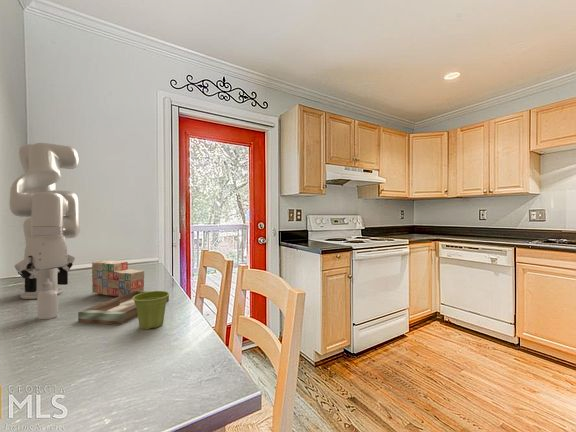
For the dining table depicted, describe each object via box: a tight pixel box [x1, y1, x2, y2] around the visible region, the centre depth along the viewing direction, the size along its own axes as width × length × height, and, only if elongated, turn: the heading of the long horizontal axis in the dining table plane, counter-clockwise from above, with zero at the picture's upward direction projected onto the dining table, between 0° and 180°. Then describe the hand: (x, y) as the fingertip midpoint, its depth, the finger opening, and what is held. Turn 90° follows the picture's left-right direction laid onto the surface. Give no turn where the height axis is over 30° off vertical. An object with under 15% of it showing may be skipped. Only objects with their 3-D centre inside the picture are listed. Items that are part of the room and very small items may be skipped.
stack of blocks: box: [91, 259, 145, 297], centre depth 110 cm, size 21×6×12 cm, turn 68°
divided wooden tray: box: [77, 290, 170, 326], centre depth 93 cm, size 14×24×3 cm, turn 171°
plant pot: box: [133, 290, 170, 330], centre depth 80 cm, size 9×9×9 cm
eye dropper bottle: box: [37, 278, 58, 320], centre depth 86 cm, size 4×6×12 cm
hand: (47, 288), depth 86 cm, fingers open, 9 cm apart
